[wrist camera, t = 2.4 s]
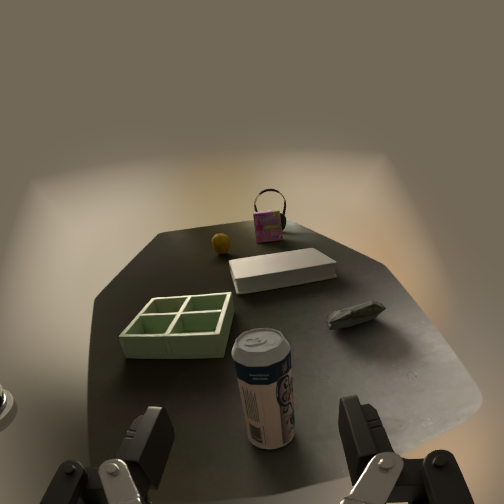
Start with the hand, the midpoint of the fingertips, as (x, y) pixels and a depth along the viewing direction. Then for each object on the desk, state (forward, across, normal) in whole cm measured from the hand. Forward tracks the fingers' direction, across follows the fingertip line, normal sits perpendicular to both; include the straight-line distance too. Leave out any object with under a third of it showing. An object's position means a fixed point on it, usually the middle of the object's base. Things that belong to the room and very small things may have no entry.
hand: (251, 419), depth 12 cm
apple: (+93, +16, +14) cm, 96 cm away
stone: (+34, -14, +14) cm, 40 cm away
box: (+108, -1, +14) cm, 109 cm away
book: (+63, -3, +14) cm, 65 cm away
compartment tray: (+35, +15, +14) cm, 41 cm away
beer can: (+11, 0, +14) cm, 18 cm away
